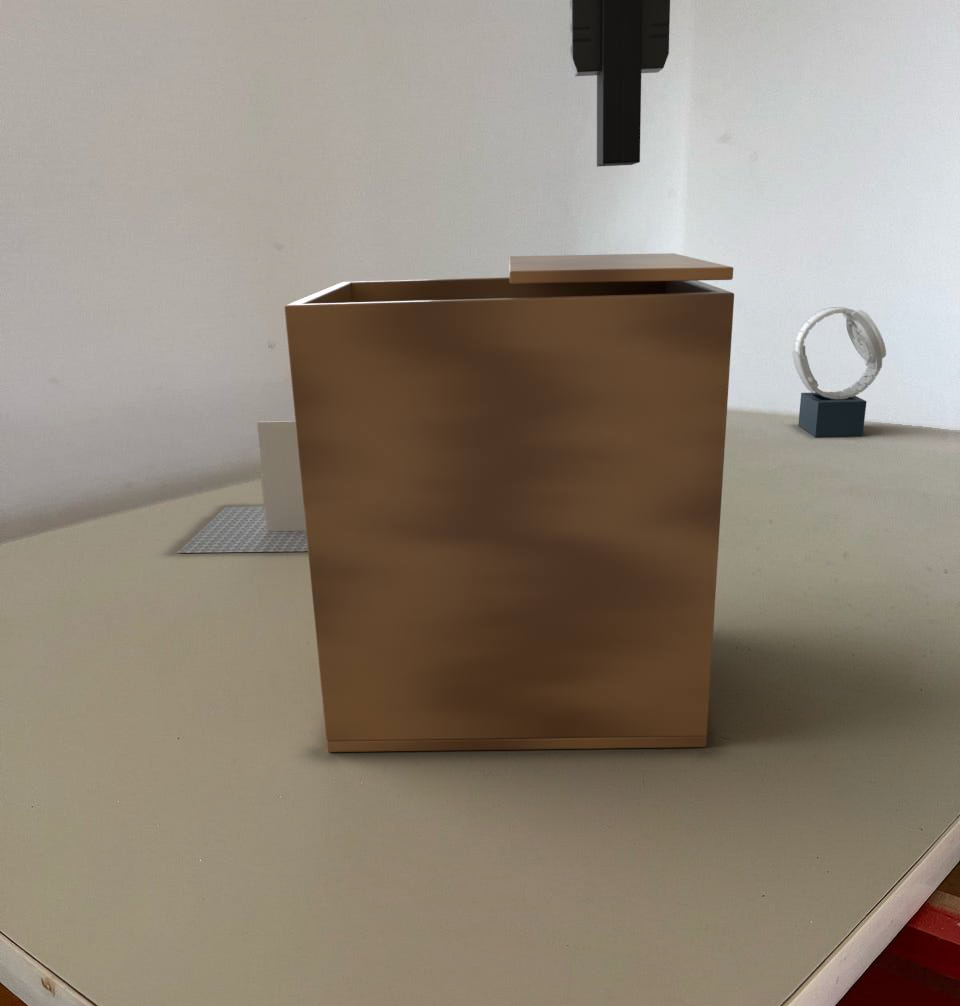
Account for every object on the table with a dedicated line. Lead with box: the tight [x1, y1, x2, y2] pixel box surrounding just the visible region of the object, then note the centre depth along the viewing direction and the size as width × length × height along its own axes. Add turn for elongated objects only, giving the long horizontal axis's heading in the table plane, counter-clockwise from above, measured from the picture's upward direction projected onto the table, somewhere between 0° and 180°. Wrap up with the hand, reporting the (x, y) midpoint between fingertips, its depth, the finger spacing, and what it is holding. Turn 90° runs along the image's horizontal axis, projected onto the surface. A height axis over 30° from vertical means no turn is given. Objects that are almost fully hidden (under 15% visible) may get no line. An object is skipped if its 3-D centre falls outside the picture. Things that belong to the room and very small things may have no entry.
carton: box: [283, 276, 735, 753], centre depth 43 cm, size 15×13×17 cm
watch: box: [791, 306, 887, 438], centre depth 94 cm, size 6×8×11 cm
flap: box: [508, 252, 734, 284], centre depth 40 cm, size 7×13×1 cm, turn 179°
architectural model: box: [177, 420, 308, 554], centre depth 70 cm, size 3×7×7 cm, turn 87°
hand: (617, 163), depth 43 cm, fingers closed
